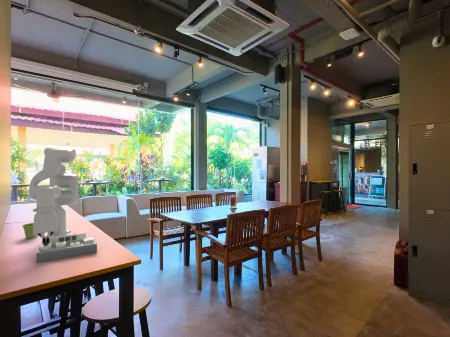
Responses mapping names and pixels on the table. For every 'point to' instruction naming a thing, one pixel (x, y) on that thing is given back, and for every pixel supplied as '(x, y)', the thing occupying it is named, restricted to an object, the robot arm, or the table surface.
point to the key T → (87, 240)
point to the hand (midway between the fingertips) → (45, 245)
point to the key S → (61, 244)
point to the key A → (46, 247)
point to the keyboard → (66, 248)
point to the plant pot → (28, 230)
